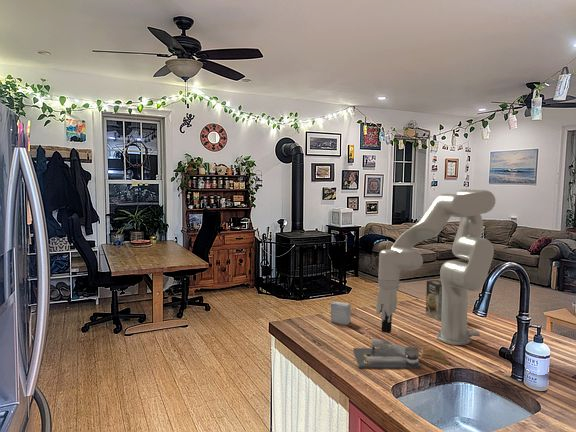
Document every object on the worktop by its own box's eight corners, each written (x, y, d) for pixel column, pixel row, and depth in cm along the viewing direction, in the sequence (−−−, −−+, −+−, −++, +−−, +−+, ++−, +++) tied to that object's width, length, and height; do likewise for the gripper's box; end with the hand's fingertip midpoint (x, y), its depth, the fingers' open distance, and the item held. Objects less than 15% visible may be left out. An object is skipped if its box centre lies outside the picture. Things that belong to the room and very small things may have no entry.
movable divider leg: (420, 360, 139) (420, 349, 139) (415, 365, 136) (415, 353, 136) (374, 347, 151) (374, 336, 151) (368, 350, 148) (368, 339, 148)
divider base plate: (409, 351, 151) (409, 344, 151) (421, 368, 137) (421, 360, 137) (353, 350, 151) (353, 343, 151) (358, 368, 137) (358, 360, 137)
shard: (450, 366, 139) (450, 361, 139) (428, 366, 139) (428, 361, 139) (438, 353, 150) (438, 348, 150) (417, 353, 150) (417, 348, 150)
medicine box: (350, 322, 182) (350, 303, 181) (346, 325, 178) (346, 306, 177) (334, 319, 186) (334, 300, 185) (330, 322, 182) (330, 303, 181)
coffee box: (425, 313, 193) (426, 280, 192) (436, 312, 195) (437, 279, 193) (437, 319, 184) (438, 285, 183) (449, 318, 186) (450, 284, 185)
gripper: (384, 278, 158) (382, 324, 159) (371, 285, 145) (369, 335, 146) (404, 281, 154) (402, 328, 155) (392, 289, 141) (390, 340, 142)
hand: (386, 331), depth 151 cm, fingers closed
